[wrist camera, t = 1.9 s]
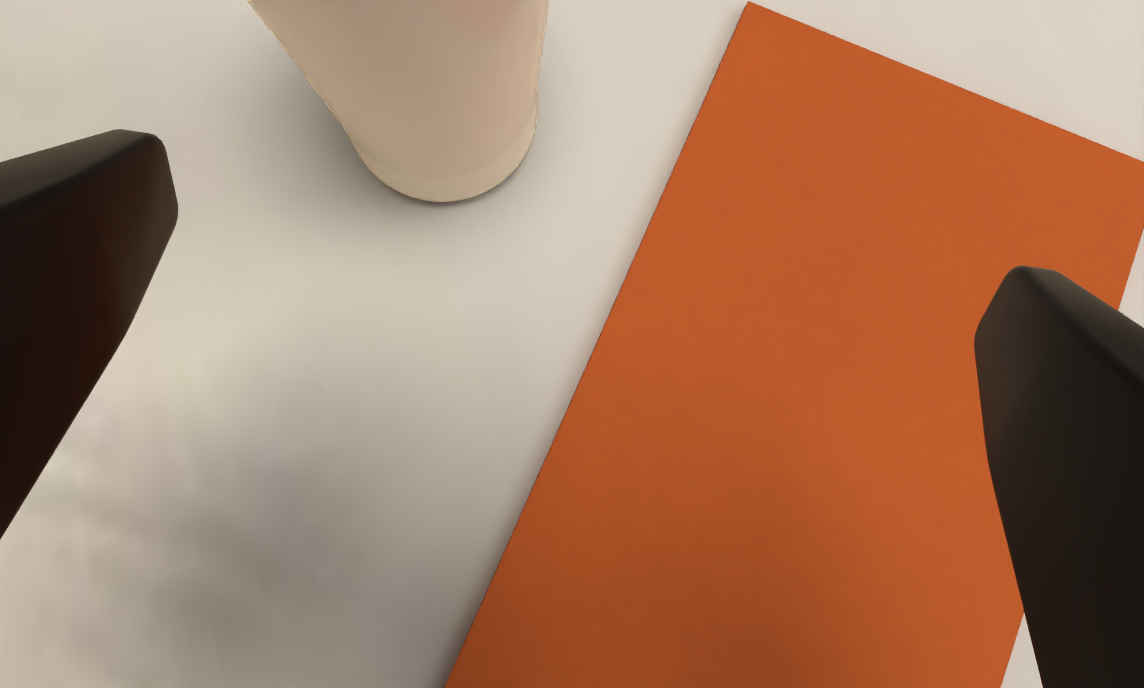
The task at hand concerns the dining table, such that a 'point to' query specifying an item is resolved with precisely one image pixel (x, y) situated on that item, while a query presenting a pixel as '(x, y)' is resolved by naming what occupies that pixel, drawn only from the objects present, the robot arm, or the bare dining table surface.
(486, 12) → the drinking glass
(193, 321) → the dining table surface
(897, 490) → the cloth
